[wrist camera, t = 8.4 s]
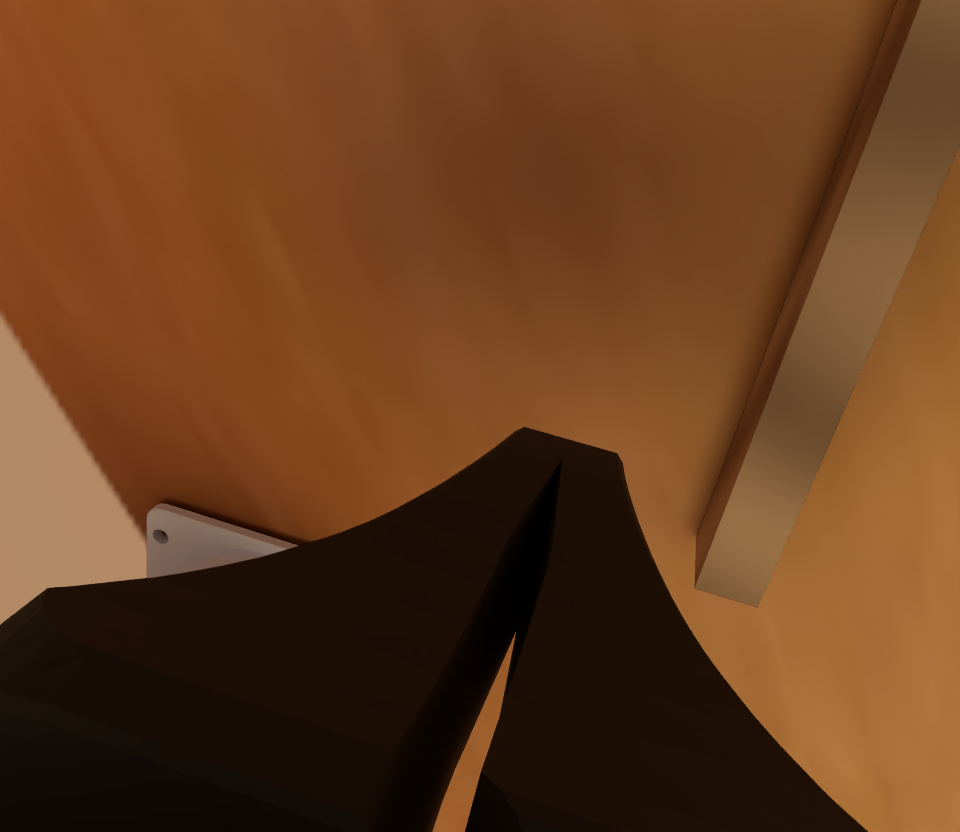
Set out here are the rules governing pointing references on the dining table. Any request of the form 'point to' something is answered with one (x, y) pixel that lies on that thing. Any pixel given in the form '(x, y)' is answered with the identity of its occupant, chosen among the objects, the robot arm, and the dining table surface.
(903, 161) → the flange channel
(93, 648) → the robot arm
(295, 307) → the dining table surface
